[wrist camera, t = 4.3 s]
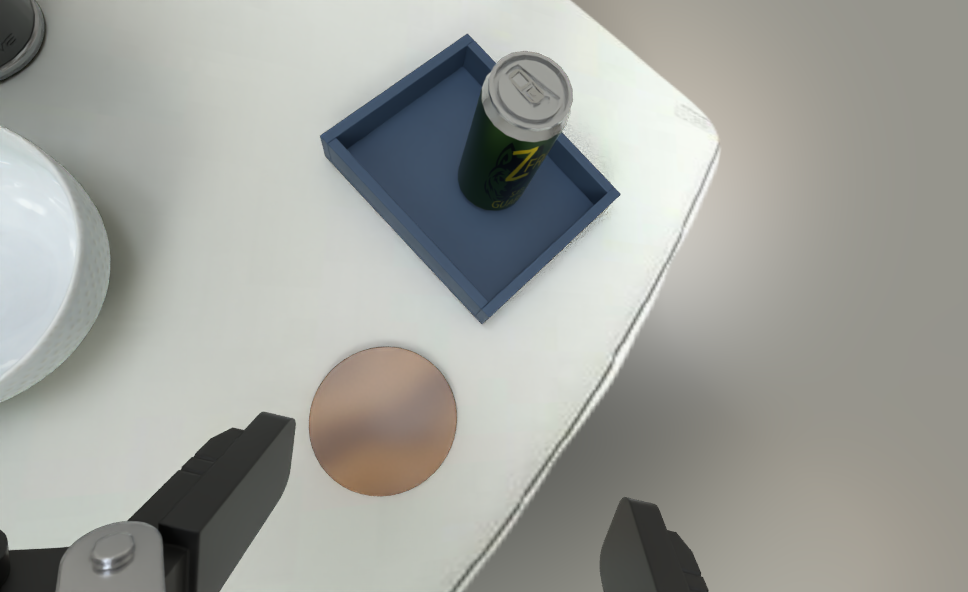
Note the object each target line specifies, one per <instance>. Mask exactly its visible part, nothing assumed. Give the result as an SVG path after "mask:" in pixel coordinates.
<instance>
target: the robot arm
mask: <svg viewBox="0 0 968 592" xmlns="http://www.w3.org/2000/svg"><path fill="white" fill-rule="evenodd" d="M44 29H45V25H44V18H43V15H42V12H41V9H40V7H39V5H38V4H37V2H36V1H35V0H0V81H1V80H3V79H5V78H7V77H9V76H11V75H13V74H15V73H16V72H18V71H19V70H21V69H22V68H23V67H24V66H26V65H27V64H28V63H29V62H30V61H31V60H32V59H33V57H34V56H35V55H36V53H37V52H38V50H39V48H40V46H41V44H42V41H43V37H44ZM295 426H296V423H295V419H293V418H289V417H284V416H280V415H276V414H272V413H267V412H261V413H260V414H259V415H258V416H257V417H256V418H255V419H254V420H253V421H252V422H251V423H250V424H249V426H248V427H247V428H246V429H245V430H241V429H236V428H231V429H229V430H227V431H225V432H223V433H221V434H219V435H217V436H215V437H213V438H211V439H210V440H209V441H208V442H207V443H206V444H205V445H204V446H203V447H202V448H201V449H200V450H199V451H198V452H197V453H196V454H195V456H194V457H191V458H190V459H189V460H188V461H187V462H186V463H185V464H184V465H183V466H182V469H181V470H178V471H177V472H176V473H175V474H174V475H173V476H172V477H171V478H170V479H169V480H168V481H167V482H166V483H165V484H164V485H163V486H162V487H161V488H160V489H159V490H158V491H157V492H156V493H155V494H154V495H153V496H152V497H151V498H150V499H149V500H148V501H147V502H146V503H145V504H144V505H143V506H142V507H141V508H140V509H139V510H138V511H137V512H136V513H135V514H134V515H133V516H132V517H131V518H130V519H129V520H128V521H122V522H116V523H112V524H108V525H105V526H102V527H100V528H97V529H95V530H93V531H91V532H89V533H87V534H85V535H84V536H82V537H81V538H79V539H78V540H77V541H75V542H74V543H73V544H72V545H71V546H70V547H63V548H47V549H27V550H8V541H7V537H6V535H5V533H3V532H2V531H1V530H0V592H219V591H220V590H221V588H222V587H223V585H224V584H225V582H226V581H227V579H228V578H229V576H230V575H231V573H232V571H233V570H234V568H235V567H236V565H237V564H238V562H239V561H240V559H241V558H242V556H243V555H244V553H245V552H246V550H247V548H248V547H249V545H250V544H251V542H252V541H253V539H254V538H255V536H256V535H257V533H258V532H259V530H260V529H261V527H262V526H263V524H264V522H265V521H266V519H267V518H268V516H269V515H270V513H271V512H272V510H273V509H274V507H275V506H276V504H277V503H278V501H279V499H280V498H281V496H282V494H283V492H284V490H285V487H286V485H287V482H288V478H289V474H290V468H291V460H292V452H293V444H294V435H295ZM600 576H601V581H602V586H603V591H604V592H708V588H707V586H706V583H705V581H704V579H703V577H701V572H700V569H699V567H698V564H697V562H696V560H695V558H694V555H693V553H692V551H691V550H690V549H689V548H688V546H687V545H686V544H685V543H684V542H683V540H682V539H681V538H680V536H679V535H678V534H677V533H676V532H672V531H669V530H667V529H666V526H665V524H664V521H663V518H662V516H661V513H660V511H659V508H658V507H657V505H655V504H652V503H648V502H644V501H639V500H635V499H631V498H626V497H624V498H622V499H621V501H620V503H619V505H618V507H617V510H616V513H615V515H614V517H613V520H612V523H611V525H610V528H609V530H608V533H607V535H606V538H605V540H604V543H603V546H602V550H601V555H600Z"/></svg>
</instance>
